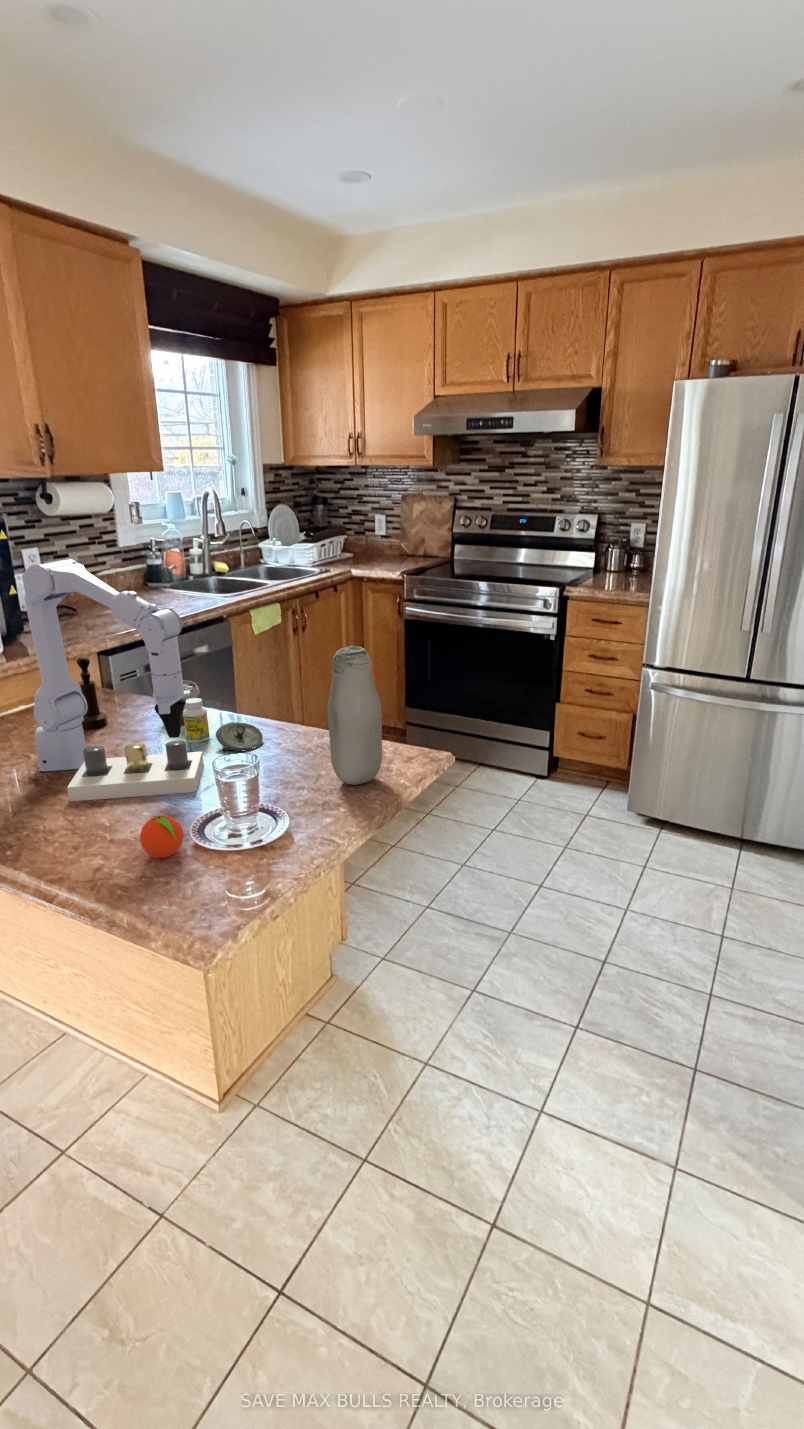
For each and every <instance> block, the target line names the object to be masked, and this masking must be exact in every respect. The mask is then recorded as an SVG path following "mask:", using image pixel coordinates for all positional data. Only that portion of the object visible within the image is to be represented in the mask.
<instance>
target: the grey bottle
mask: <svg viewBox="0 0 804 1429" xmlns="http://www.w3.org/2000/svg"><path fill="white" fill-rule="evenodd" d="M331 667H332V668H331V670H332V673H331V674H332V675H331V685H330V690H329V696H328V702H327V724H328V734H329V749H330V750H329V751H330V760H331V764H332V768H333V771H334V774H335V775H336V777H337V778H338V780H340V781H341V782H343V783H345V784H348V785H350V784H351V785H350V786H352V785H353V786H358V784H359V785H363V783H364V784H367V783H369V782H370V781H372V780H373V779H375V777H376V776H377V775H378V773H379V772H380V768H381V766H382V762H383V729H382V728H383V721H382V718H383V717H382V705H381V700H380V695H379V693H378V690H377V687H376V684H375V679H374V675H373V670H372V660H371V657H370V654H369V652H368V651H367V649H365V648H363V647H361V646H358V645H357V646H355V645H349V646H348V645H347V646H344V647H341V648H339V649H338V650H336V652H335V653H334V655H333V657H332V663H331Z"/></svg>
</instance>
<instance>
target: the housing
mask: <svg viewBox="0 0 804 1429" xmlns="http://www.w3.org/2000/svg"><path fill="white" fill-rule="evenodd" d="M187 756H188V764H189V766H188V767H187V768H185V769H182V770H170V769H169V768H168V761H167V753H164V754H163V753H162V754H148V755H147V761H148V770H147V771H145V772H142V773H129V772H128V768H127V762H126V756H122V757H120V756H119V757H106V762H107V768H108V772H107V773H106V774H103V775H100V776H88V775H87V772H86V767H85V761H84V763H83V764H82V766H81V767H80V769H77V771H76V773H75V775H74V776H73V778H72V779H71V781H70V782H69V783H68V786H67V787H66V790H67V794H68V801H69V802H80V801H93V800H94V801H95V800H107V799H108V800H109V799H118V798H131V797H144V796H145V797H146V796H158V795H160V796H161V795H171V794H172V795H173V794H186V793H196V792H197V790H198V786H199V783H200V779H201V775H202V772H203V768H204V766H205V764H204V758H203V757H204V756H203V751H193V752H192V751H191V752H187Z"/></svg>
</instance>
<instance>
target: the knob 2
mask: <svg viewBox="0 0 804 1429" xmlns="http://www.w3.org/2000/svg"><path fill="white" fill-rule="evenodd" d="M164 746H165V750H166V751H165V752H166V753H165V754H167V761H168V768H169V769H170V770H182V769H185V768H187V767H188V766H189V764H188V756H187V753H188V751H187V750H188V749H187V742H186V741H185V740H180V739H178V740H176V739H175V740H172V741H168V742H167V743H165V745H164Z"/></svg>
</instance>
